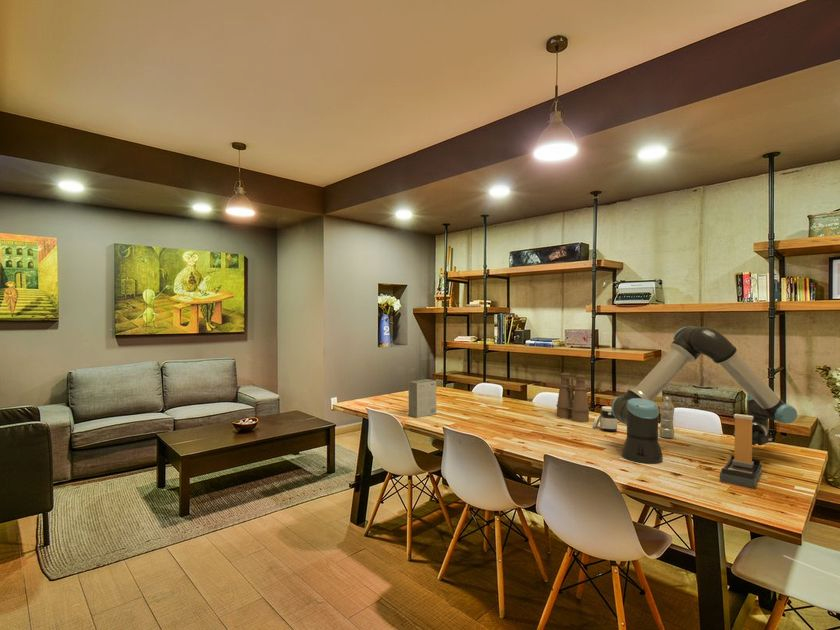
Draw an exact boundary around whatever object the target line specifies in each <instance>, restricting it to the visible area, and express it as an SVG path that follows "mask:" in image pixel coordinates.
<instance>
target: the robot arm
mask: <svg viewBox="0 0 840 630" xmlns="http://www.w3.org/2000/svg"><path fill="white" fill-rule="evenodd" d="M673 335H674V336H673V341H672V342H671V343H670V350H669V351H668V352H667V353H666V354H665V355H664V356H663V357H662V359H660V361H659V362H658V363H656V365H655V366H654V367H653V368H652V369H651V370H650V372H648V374H646V376H645V377H644V378H643V379H642V380H641V381H640V382H639V384H638V385H637V386H636V387H635V388H631V389H628V390H627V391H626V392H625V393H624V394H623V395H619V396H617V397H615V398H614V399H613V401H612V403H611V406H610V407H611V410H612V413H613V415H614V417H615V418H616V419H617V422H620V423H621V424H624V425H625V426H626V439H625V441H624V443H623V447H622V449H621V456H622V457H623V459H627V460H630V461H633V462H637V463H644V464H659V463H661V462H663V461H664V459H663V452H662V448H661V445H660V443H659V414H660V410H659V406H658V404H657V403H656V402H655V401H654V400H656V398H657V397H658V395H660V394H661V393H662V391H663V390H664V389H665V388H667V386H668V385H669V384H670V383H671V382H672V380H674V378H675V377H676V376H677V375H678V374H679V373H680V372H681V371H682V370H683V368H685V366H686V365H687V364H688V363H692V362H695V361H696V360H697V359H698V358H699V357H700V356H701V355H704V356H706V357H707V358H709V359H711V360H712V362H714V363H715V364H719V365H720V366H721V367H722V368H723V369H724V370H725V372H727V374H729V376H731V377H732V379H733V380H735V381H736V382H737V384H738V385H739V386H740V387H741V388H742V389H743V390H744V391H745V392H746V393H747V395H746V397H747V398H746V415H749V416H753V420H752V446H755V445H756V444H757V445H758V446H763V445H765V444H768V443H772V442H773V436H772V435H768V433H769V432H770V427H769V419H770V420H772V421H775V422H778V423H783V424H791V423H794V422H795V420H797V418H798V411H797V409H796V408H795V407H794V406H792V405H790V404H788V403H785V402H784V401H783V400H782V399H781V398H780V397H779V396H778V394H776V393H775V392H774V391H773V390H772V389H771V387H770V386H769V385H767V383H766V381H764V380H763V379H762V378H761V377H760V376H759V374H757V373H756V372H755V371H754V370H753V368H752V367H751V366H750V365H749V364H748V363H747V362H746V361H745V360H744V359H743V358H742V357H741V356H740V355H739V354H738V348H737V347H735V345H734V344H733V343H732V342H731V341H730V340H729V339H727V338H726V337H725V336H724V334H722V333H721V332H720V331H719V330H716V329H715V328H713V327H709V326H696V325H695V326H694V325H689V326H684V327H681V328H680V329H678V330H677V331H676V332H675V334H673ZM733 437H734V438H735V430H733Z"/></svg>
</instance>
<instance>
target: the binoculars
mask: <svg viewBox="0 0 840 630" xmlns="http://www.w3.org/2000/svg"><path fill="white" fill-rule="evenodd" d="M560 375H561V376H560V379H561V380H560V381H561V384H559V386H558V387H559V390H558V398H557V403H556V404H555V406H556V417H557V418H559V419H566V420H567V419H568V420H569V419H570V420H571V421H572V422H576V423H589V422H590V420H589V419H590V410H591V409H590V408H589V401H588V393H587V390H588V389H587V388H586V387H585V386H586V385H585V384H586V383H585V382H586V381H587V380H586V375H582V374H580V375H579V374H578V375H575V378H574V377H570V376H571V373H568V372H567V373H565V372H564V373H563V372H561V373H560ZM570 381H571V382H570ZM574 381H576V383H575V385H576V386H575V387H574ZM570 383H571V384H570Z"/></svg>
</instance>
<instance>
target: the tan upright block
mask: <svg viewBox="0 0 840 630" xmlns="http://www.w3.org/2000/svg"><path fill="white" fill-rule="evenodd" d="M733 418H734V431H735V437H734V456H735V458H734V459H733V461H732V465H735V466H740V467H745V468H751V469H752V468H753V466H754V461H752V459H753V445H752V420H753V416H749V415H747V414H741V413H740V414H739V413H735V414H733Z"/></svg>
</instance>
